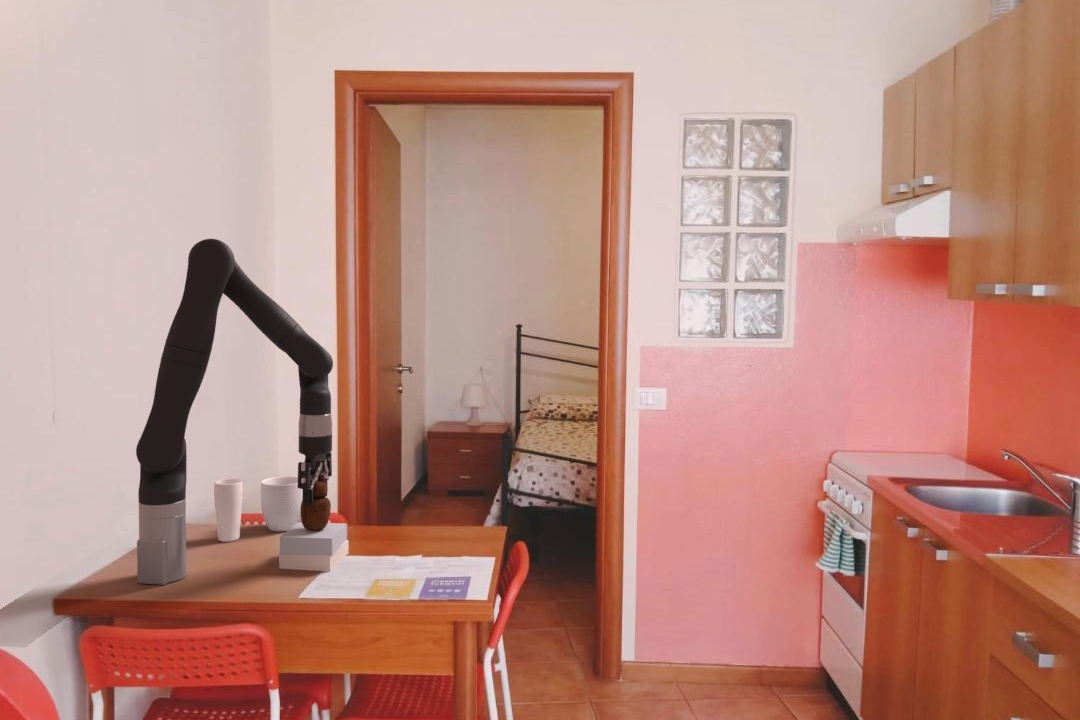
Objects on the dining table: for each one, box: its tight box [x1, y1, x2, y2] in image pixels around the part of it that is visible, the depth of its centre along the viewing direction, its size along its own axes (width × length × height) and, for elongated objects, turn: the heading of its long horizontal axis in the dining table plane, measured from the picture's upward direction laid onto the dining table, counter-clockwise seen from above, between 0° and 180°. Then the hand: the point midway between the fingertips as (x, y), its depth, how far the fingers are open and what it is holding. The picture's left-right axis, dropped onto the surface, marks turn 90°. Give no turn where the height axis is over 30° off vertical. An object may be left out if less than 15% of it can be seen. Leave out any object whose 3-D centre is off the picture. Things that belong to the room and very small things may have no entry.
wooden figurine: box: [301, 474, 332, 530], centre depth 180 cm, size 7×6×15 cm
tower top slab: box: [279, 521, 348, 556], centre depth 180 cm, size 12×12×4 cm
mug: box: [260, 475, 303, 533], centre depth 206 cm, size 15×11×13 cm
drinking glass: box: [213, 478, 244, 543], centre depth 195 cm, size 7×7×15 cm
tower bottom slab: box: [278, 539, 350, 572], centre depth 181 cm, size 12×12×4 cm
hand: (315, 500), depth 180 cm, fingers open, 8 cm apart
